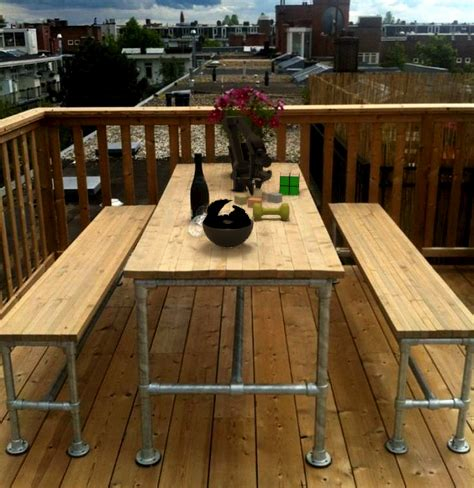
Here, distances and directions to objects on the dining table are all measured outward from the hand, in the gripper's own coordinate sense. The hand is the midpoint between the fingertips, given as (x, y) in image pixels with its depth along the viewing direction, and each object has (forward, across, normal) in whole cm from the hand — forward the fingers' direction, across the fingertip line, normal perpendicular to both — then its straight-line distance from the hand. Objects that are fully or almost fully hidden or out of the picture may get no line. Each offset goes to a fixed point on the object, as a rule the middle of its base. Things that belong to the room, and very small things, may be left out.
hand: (254, 194), depth 318 cm
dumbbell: (+1, -24, -30) cm, 39 cm away
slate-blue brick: (+1, 0, -13) cm, 13 cm away
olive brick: (+1, -14, -3) cm, 14 cm away
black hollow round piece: (+1, -64, -41) cm, 76 cm away
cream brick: (+1, 0, 0) cm, 1 cm away
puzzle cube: (+1, +18, -8) cm, 20 cm away
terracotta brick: (+1, -14, -12) cm, 18 cm away
